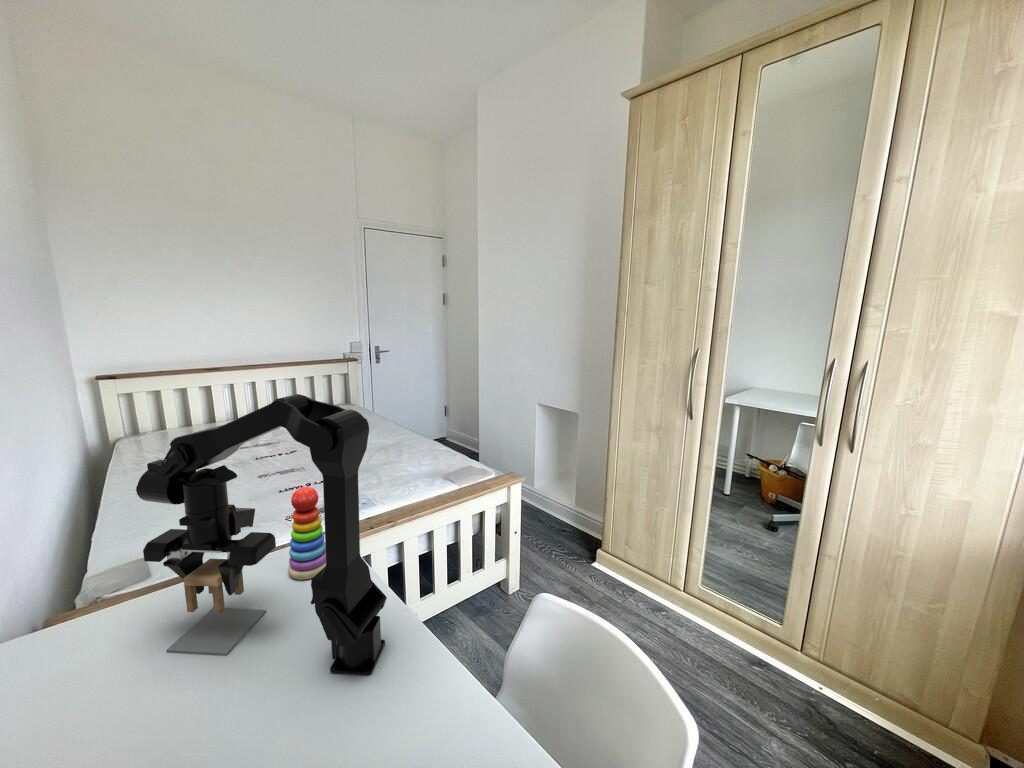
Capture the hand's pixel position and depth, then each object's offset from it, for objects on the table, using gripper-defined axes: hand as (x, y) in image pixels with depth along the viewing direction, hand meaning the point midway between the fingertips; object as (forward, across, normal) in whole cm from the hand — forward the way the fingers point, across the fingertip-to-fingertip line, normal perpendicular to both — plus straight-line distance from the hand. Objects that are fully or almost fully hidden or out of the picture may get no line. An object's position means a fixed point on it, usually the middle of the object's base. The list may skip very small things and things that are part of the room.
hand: (216, 592), depth 70 cm
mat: (+7, 0, 0) cm, 7 cm away
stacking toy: (+7, -6, -18) cm, 20 cm away
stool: (+2, 0, 0) cm, 2 cm away
